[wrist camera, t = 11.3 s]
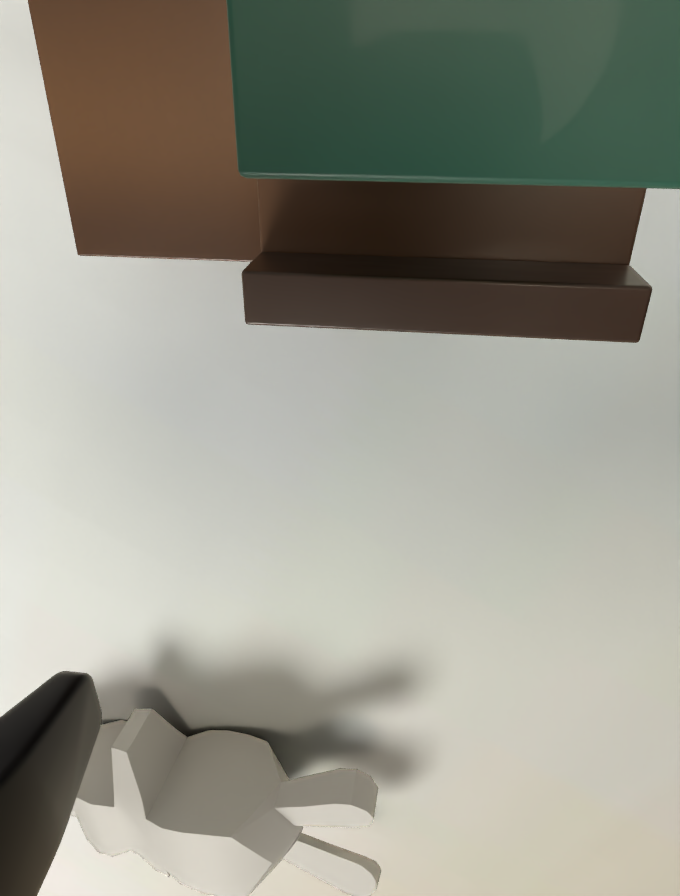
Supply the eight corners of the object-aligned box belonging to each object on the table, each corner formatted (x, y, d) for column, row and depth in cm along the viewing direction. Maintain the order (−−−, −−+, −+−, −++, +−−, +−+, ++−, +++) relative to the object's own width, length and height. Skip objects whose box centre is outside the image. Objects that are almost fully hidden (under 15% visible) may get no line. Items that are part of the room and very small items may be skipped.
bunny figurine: (2, 758, 26) (361, 837, 23) (75, 661, 31) (387, 716, 27) (63, 881, 31) (368, 964, 27) (119, 783, 35) (390, 843, 32)
